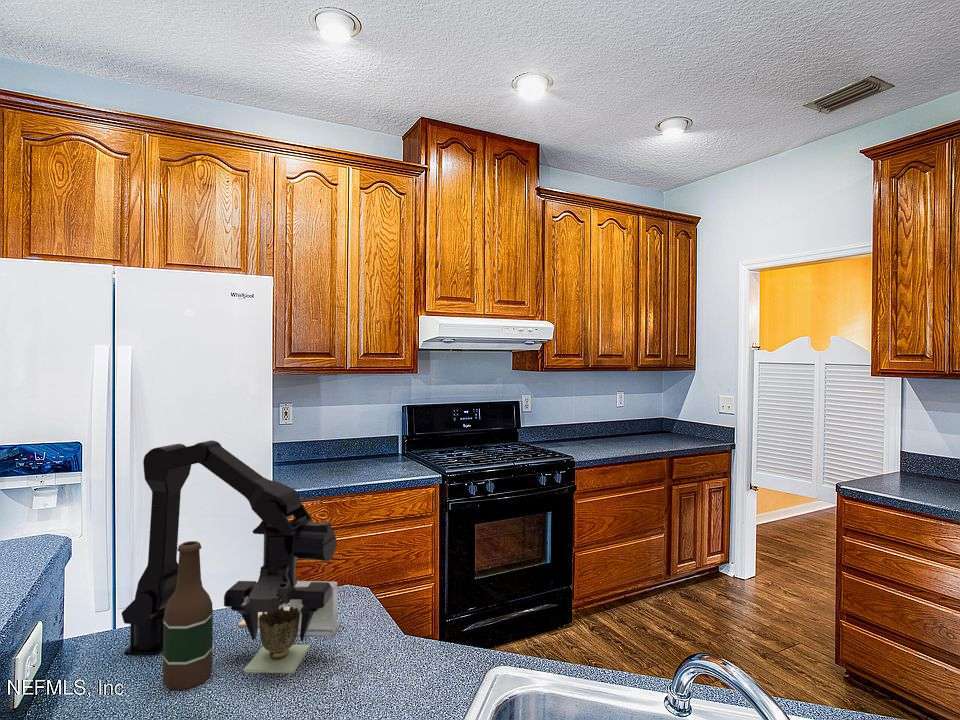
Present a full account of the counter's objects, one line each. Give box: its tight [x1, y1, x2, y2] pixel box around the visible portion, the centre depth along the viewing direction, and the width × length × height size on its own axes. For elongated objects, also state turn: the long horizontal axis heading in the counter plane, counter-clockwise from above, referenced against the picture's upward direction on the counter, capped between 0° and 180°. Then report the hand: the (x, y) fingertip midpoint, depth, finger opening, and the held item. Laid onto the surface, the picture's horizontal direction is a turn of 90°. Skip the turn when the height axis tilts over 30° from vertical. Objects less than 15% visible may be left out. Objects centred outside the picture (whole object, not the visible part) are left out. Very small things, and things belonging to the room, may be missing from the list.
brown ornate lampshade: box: [258, 606, 300, 660], centre depth 104 cm, size 8×7×8 cm
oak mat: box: [237, 605, 290, 628], centre depth 121 cm, size 9×9×1 cm
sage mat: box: [243, 644, 311, 674], centre depth 104 cm, size 9×9×1 cm
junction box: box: [289, 580, 342, 637], centre depth 116 cm, size 10×5×10 cm, turn 89°
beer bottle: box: [162, 540, 214, 691], centre depth 98 cm, size 8×8×24 cm
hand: (278, 639), depth 104 cm, fingers open, 9 cm apart
